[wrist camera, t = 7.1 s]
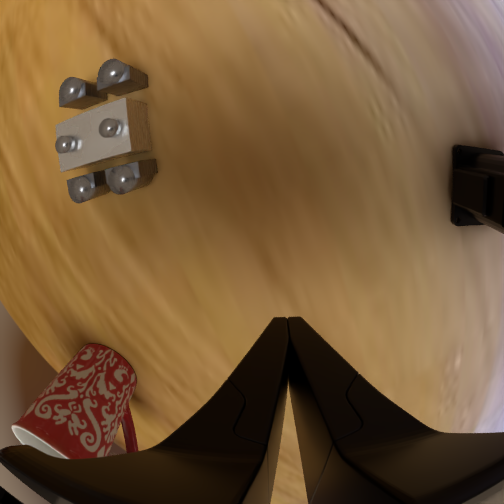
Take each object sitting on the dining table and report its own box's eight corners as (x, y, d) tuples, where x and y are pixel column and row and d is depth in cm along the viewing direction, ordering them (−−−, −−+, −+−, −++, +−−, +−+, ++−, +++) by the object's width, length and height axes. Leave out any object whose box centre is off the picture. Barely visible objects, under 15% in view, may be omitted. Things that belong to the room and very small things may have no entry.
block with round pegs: (147, 104, 17) (119, 95, 13) (152, 149, 18) (125, 151, 14) (82, 125, 18) (48, 125, 14) (87, 167, 19) (53, 173, 15)
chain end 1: (106, 79, 16) (81, 71, 13) (118, 191, 19) (94, 200, 16) (81, 89, 16) (55, 84, 13) (92, 196, 19) (68, 206, 16)
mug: (61, 346, 26) (0, 425, 13) (104, 324, 24) (29, 426, 11) (129, 417, 29) (95, 499, 17) (180, 407, 27) (150, 510, 15)
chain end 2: (146, 65, 16) (126, 53, 13) (159, 183, 19) (139, 190, 16) (117, 75, 16) (93, 66, 13) (129, 189, 19) (106, 197, 16)
